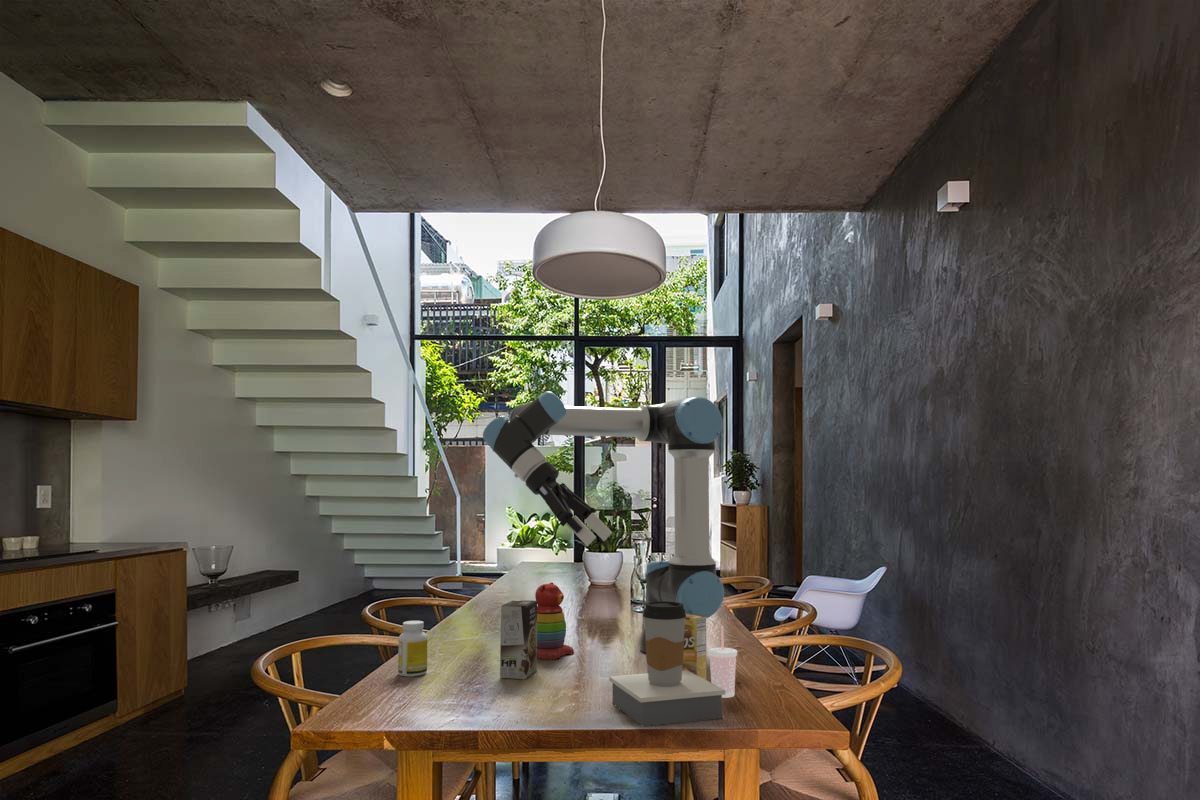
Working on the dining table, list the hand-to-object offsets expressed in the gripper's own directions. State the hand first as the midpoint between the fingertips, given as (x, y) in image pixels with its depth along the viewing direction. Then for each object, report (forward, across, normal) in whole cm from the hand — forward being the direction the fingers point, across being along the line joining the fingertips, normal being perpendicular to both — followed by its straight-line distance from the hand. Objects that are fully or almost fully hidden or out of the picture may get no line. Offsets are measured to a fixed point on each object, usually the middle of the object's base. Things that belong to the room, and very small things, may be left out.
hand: (600, 539), depth 183 cm
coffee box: (+8, -3, -36) cm, 37 cm away
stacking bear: (+8, -24, -37) cm, 45 cm away
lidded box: (+34, +17, -10) cm, 40 cm away
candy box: (+35, -1, -9) cm, 36 cm away
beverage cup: (+41, +2, -3) cm, 41 cm away
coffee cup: (+31, +17, -6) cm, 36 cm away
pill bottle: (-9, +4, -53) cm, 54 cm away
